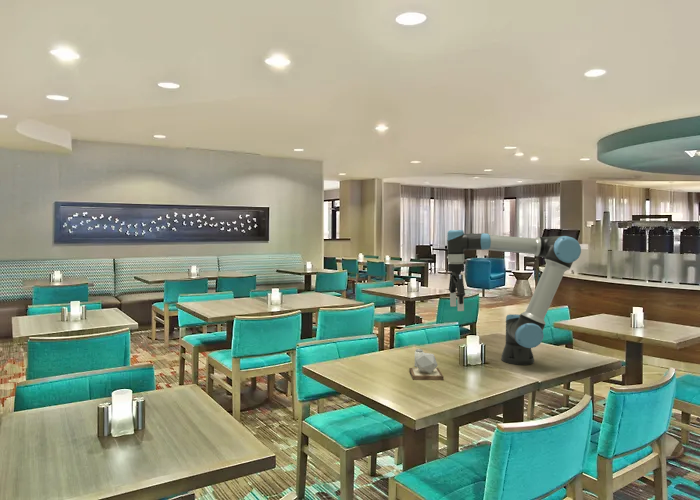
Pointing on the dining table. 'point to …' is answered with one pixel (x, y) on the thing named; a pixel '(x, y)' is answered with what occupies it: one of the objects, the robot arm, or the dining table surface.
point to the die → (426, 363)
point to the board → (426, 374)
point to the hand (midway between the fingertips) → (456, 308)
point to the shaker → (417, 354)
